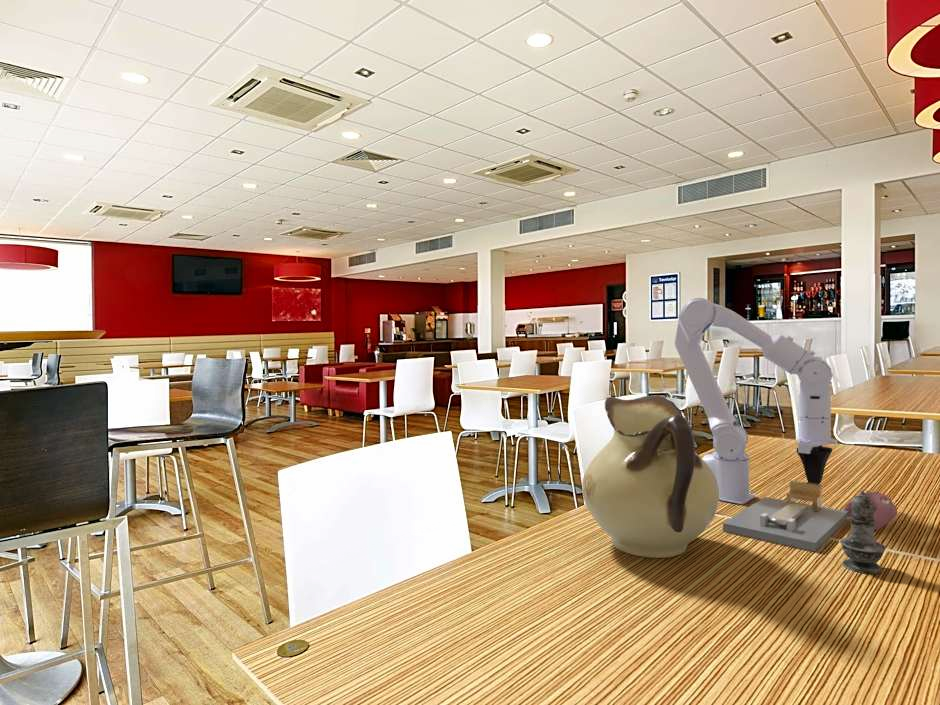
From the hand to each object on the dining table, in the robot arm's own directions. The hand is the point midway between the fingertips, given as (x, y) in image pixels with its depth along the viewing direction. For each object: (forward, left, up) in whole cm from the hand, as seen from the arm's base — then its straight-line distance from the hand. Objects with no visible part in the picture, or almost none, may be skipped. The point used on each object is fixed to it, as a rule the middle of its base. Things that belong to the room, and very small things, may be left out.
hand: (814, 482), depth 121 cm
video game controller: (+10, -5, -5) cm, 13 cm away
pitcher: (-14, -42, -5) cm, 44 cm away
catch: (0, -7, -3) cm, 8 cm away
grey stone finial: (+14, -29, -5) cm, 32 cm away
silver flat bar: (0, -17, -3) cm, 17 cm away
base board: (0, -16, -5) cm, 16 cm away
